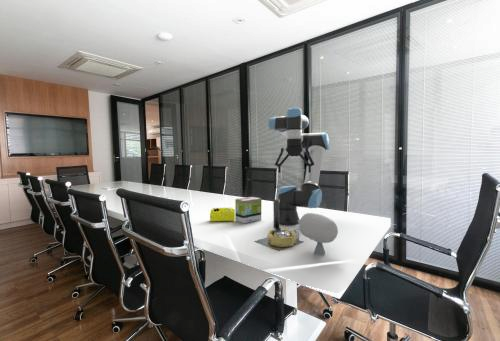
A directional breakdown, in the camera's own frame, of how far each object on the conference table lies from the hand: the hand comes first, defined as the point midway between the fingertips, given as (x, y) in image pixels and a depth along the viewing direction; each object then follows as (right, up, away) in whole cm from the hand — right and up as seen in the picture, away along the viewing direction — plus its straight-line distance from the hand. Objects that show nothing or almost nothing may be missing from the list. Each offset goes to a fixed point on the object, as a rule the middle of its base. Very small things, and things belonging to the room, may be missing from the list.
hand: (294, 179), depth 134 cm
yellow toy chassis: (-41, -29, +35) cm, 62 cm away
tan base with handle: (-8, -30, -9) cm, 32 cm away
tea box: (-24, -29, +35) cm, 52 cm away
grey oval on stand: (+6, -32, -22) cm, 39 cm away
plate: (-9, -31, -10) cm, 34 cm away
